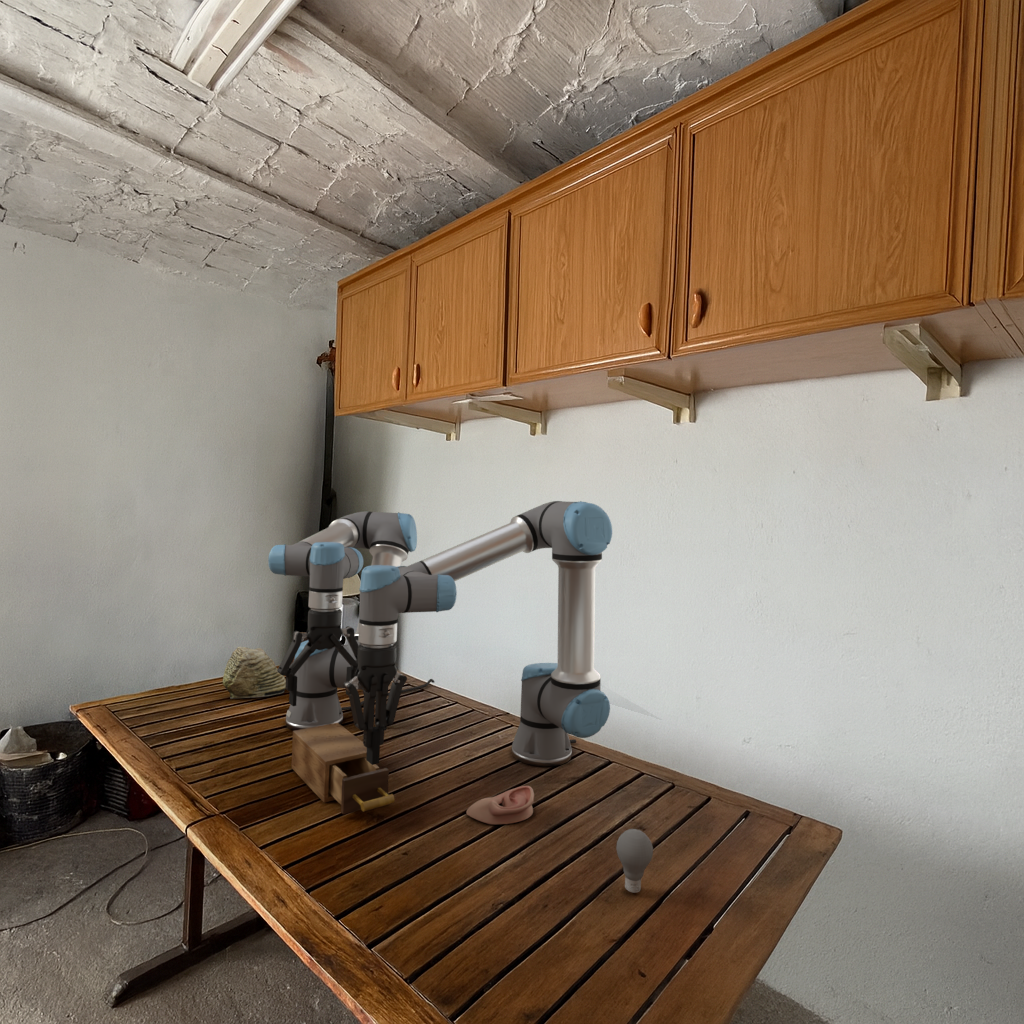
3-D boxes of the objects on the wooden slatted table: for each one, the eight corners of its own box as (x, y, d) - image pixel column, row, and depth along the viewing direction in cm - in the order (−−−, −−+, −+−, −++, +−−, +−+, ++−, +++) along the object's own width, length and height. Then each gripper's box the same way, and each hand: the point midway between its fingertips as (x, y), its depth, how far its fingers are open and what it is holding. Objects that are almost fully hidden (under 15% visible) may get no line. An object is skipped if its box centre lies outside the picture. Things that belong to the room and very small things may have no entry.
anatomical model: (462, 800, 126) (477, 776, 137) (461, 820, 126) (476, 794, 137) (528, 810, 123) (537, 784, 135) (527, 830, 123) (536, 803, 135)
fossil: (218, 695, 195) (220, 647, 195) (278, 685, 208) (279, 640, 207) (228, 703, 189) (230, 653, 188) (289, 692, 201) (290, 645, 201)
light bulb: (610, 879, 108) (613, 822, 108) (644, 879, 109) (647, 822, 109) (619, 902, 102) (622, 840, 102) (655, 901, 103) (658, 840, 103)
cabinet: (372, 790, 138) (374, 750, 138) (323, 803, 131) (325, 761, 131) (336, 757, 154) (337, 722, 154) (291, 767, 147) (292, 730, 147)
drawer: (401, 814, 126) (402, 780, 126) (355, 827, 120) (357, 792, 120) (350, 768, 146) (351, 739, 146) (308, 778, 140) (310, 748, 140)
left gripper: (275, 615, 137) (272, 713, 137) (381, 607, 152) (378, 695, 152) (265, 610, 142) (261, 703, 143) (368, 602, 158) (364, 687, 158)
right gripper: (354, 651, 119) (349, 776, 119) (415, 644, 127) (410, 761, 127) (338, 643, 124) (333, 762, 125) (398, 636, 132) (393, 748, 133)
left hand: (321, 699), depth 148 cm, fingers open, 13 cm apart
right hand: (372, 761), depth 126 cm, fingers closed
